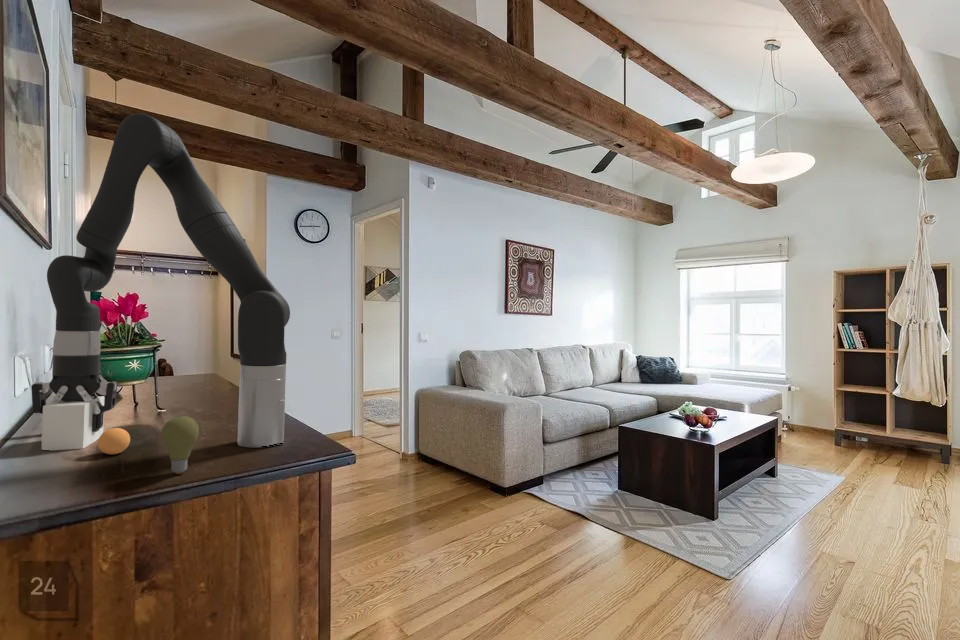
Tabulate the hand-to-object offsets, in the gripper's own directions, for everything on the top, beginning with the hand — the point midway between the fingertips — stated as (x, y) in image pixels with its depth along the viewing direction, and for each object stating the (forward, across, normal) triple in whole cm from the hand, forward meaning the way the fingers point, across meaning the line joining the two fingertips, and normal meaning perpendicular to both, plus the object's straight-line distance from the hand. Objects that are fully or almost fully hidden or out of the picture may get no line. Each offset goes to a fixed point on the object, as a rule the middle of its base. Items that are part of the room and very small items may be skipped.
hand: (74, 431), depth 99 cm
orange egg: (0, -10, +11) cm, 15 cm away
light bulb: (+3, -24, +27) cm, 36 cm away
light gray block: (+2, 0, 0) cm, 2 cm away
